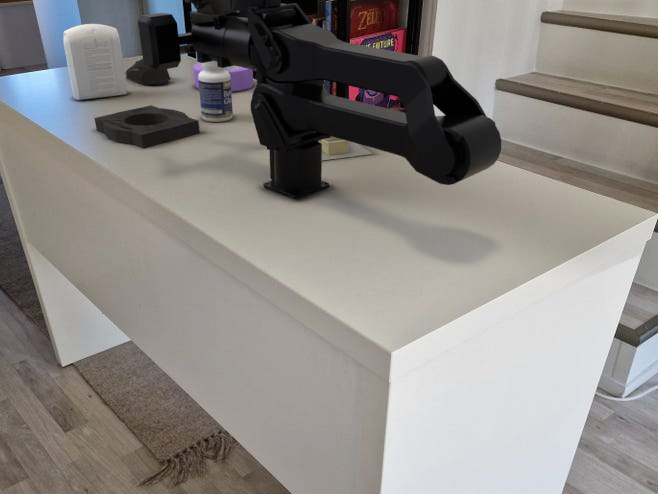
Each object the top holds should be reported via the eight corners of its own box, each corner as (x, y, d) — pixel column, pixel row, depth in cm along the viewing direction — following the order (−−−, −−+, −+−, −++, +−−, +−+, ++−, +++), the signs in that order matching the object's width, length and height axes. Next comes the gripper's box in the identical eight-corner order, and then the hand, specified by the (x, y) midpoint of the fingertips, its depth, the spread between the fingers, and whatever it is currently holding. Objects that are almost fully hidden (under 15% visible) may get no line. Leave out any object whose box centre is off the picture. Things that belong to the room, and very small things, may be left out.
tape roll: (209, 77, 140) (207, 57, 138) (261, 81, 138) (260, 61, 136) (185, 90, 131) (183, 69, 129) (240, 94, 129) (239, 73, 126)
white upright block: (123, 90, 131) (112, 20, 123) (131, 95, 128) (120, 23, 120) (70, 97, 126) (56, 25, 119) (77, 102, 123) (63, 28, 116)
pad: (205, 131, 109) (204, 119, 108) (137, 150, 101) (135, 136, 100) (157, 115, 116) (155, 103, 115) (89, 131, 108) (87, 119, 107)
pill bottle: (231, 122, 113) (227, 61, 108) (199, 122, 113) (193, 60, 108) (234, 114, 118) (231, 54, 112) (204, 113, 118) (199, 54, 112)
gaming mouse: (139, 70, 145) (136, 50, 142) (176, 83, 136) (174, 62, 134) (113, 75, 141) (110, 54, 139) (149, 88, 132) (147, 66, 130)
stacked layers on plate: (372, 154, 101) (374, 116, 97) (317, 161, 98) (318, 122, 94) (345, 135, 108) (346, 100, 105) (293, 141, 105) (293, 105, 102)
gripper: (291, -36, 86) (213, -44, 94) (173, -26, 74) (96, -36, 83) (292, 57, 92) (219, 42, 101) (184, 80, 81) (112, 61, 89)
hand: (166, 27), depth 93 cm, fingers open, 9 cm apart
